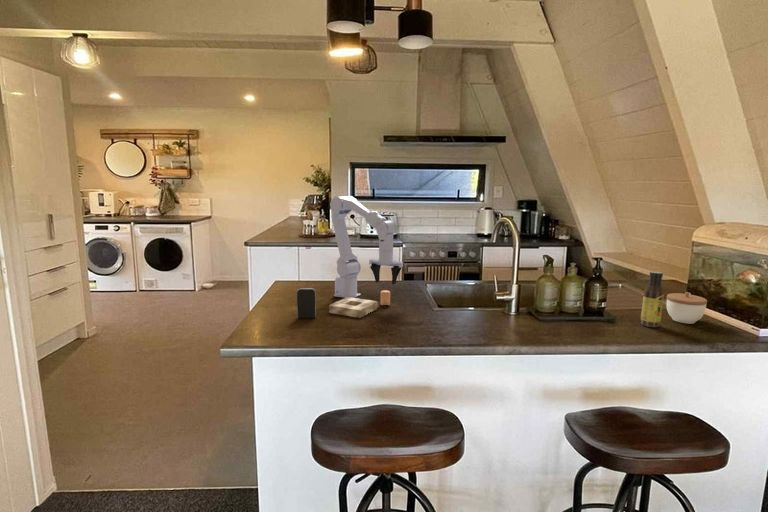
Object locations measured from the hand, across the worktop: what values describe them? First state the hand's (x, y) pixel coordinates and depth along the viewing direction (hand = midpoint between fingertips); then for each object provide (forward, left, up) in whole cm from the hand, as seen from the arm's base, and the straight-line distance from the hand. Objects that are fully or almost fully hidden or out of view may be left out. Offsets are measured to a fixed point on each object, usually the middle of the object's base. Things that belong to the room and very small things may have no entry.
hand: (385, 282), depth 184 cm
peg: (0, 0, -9) cm, 9 cm away
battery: (-18, -30, -9) cm, 36 cm away
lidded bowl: (+109, +35, -9) cm, 115 cm away
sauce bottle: (+97, +22, -9) cm, 100 cm away
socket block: (-7, -14, -9) cm, 18 cm away
